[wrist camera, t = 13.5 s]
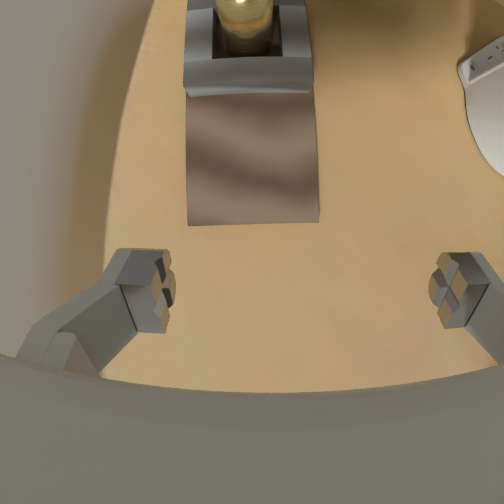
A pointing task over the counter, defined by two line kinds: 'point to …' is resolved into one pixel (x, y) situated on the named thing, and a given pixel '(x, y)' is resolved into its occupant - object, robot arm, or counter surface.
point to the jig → (250, 123)
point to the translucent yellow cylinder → (246, 26)
